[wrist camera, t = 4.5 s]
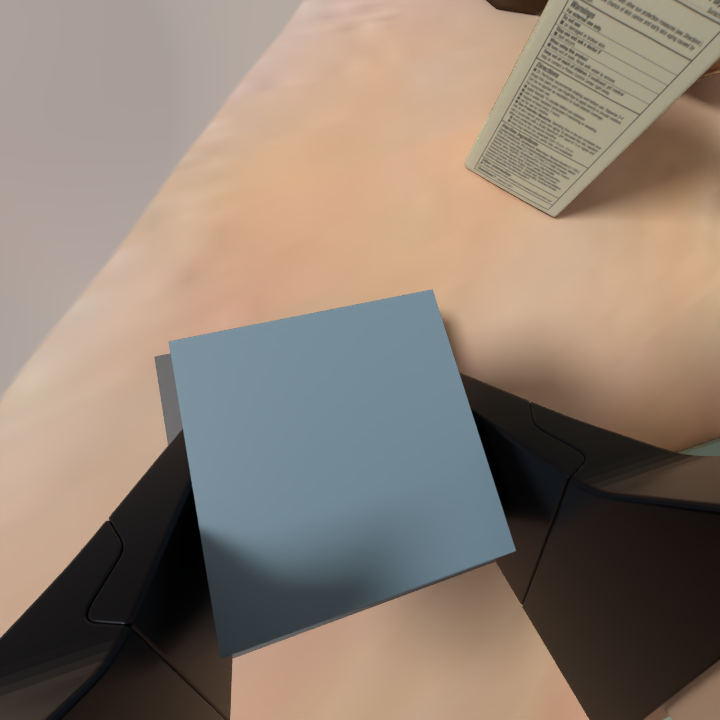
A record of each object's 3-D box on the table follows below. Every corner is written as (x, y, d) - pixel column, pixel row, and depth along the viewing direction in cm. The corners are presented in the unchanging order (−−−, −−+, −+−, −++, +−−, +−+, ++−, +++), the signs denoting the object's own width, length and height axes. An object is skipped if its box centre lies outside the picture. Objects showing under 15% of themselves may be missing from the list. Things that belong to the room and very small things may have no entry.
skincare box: (578, 170, 22) (900, -156, 10) (553, 222, 21) (883, -77, 9) (487, 115, 22) (700, -277, 10) (456, 164, 21) (658, -214, 9)
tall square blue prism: (384, 483, 15) (515, 550, 6) (279, 515, 14) (220, 658, 5) (358, 382, 16) (432, 289, 6) (256, 406, 15) (168, 341, 6)
